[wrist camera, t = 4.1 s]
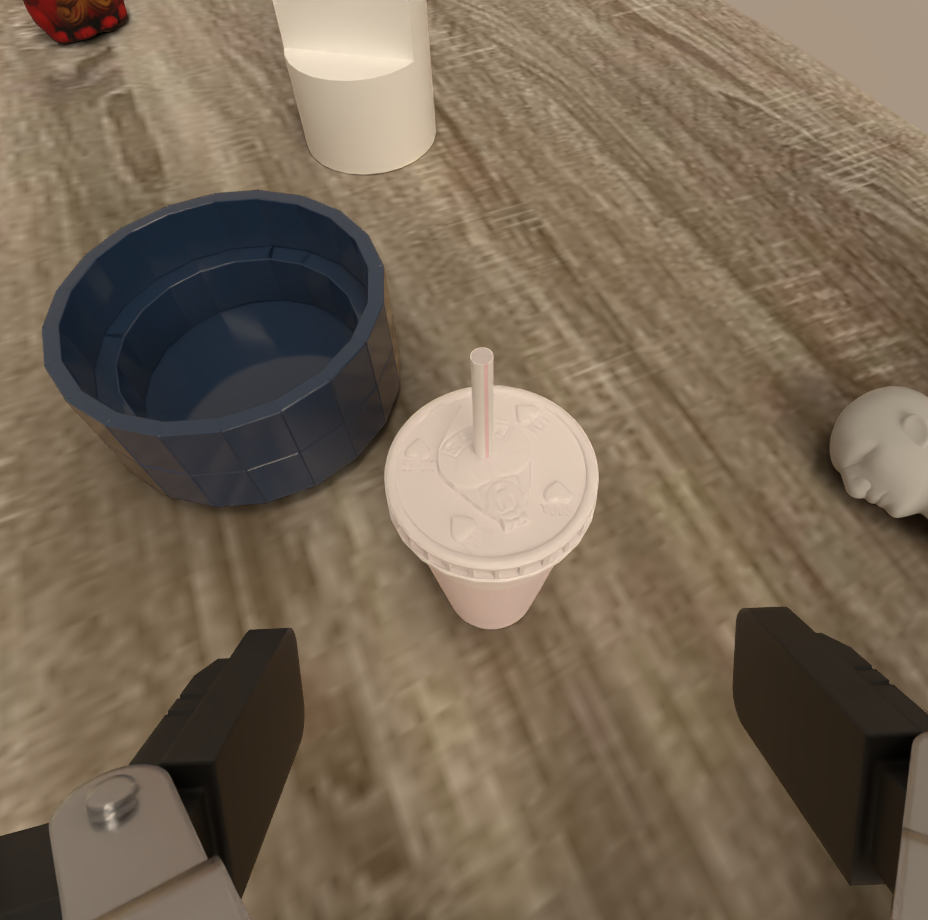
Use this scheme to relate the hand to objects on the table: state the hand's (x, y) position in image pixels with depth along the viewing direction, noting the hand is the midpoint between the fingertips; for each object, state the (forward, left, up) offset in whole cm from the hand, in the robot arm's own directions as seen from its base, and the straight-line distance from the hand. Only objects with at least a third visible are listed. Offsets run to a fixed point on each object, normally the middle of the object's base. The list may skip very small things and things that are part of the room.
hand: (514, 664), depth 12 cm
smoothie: (-5, -4, -14) cm, 16 cm away
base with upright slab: (-29, -28, -14) cm, 43 cm away
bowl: (-8, -19, -14) cm, 25 cm away
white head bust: (-18, +9, -14) cm, 25 cm away
